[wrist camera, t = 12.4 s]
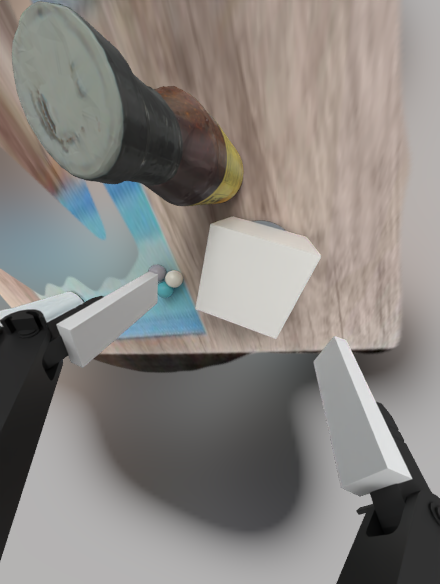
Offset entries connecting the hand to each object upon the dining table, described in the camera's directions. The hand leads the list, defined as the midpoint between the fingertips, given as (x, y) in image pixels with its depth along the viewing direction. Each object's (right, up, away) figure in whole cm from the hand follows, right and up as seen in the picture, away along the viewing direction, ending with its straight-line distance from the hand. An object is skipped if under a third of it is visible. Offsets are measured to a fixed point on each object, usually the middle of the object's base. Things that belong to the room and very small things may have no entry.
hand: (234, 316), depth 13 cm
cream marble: (-9, +5, +18) cm, 21 cm away
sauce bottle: (-1, +17, +10) cm, 19 cm away
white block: (+4, +6, +13) cm, 15 cm away
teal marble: (-11, +3, +20) cm, 23 cm away
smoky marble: (-12, +6, +19) cm, 23 cm away
